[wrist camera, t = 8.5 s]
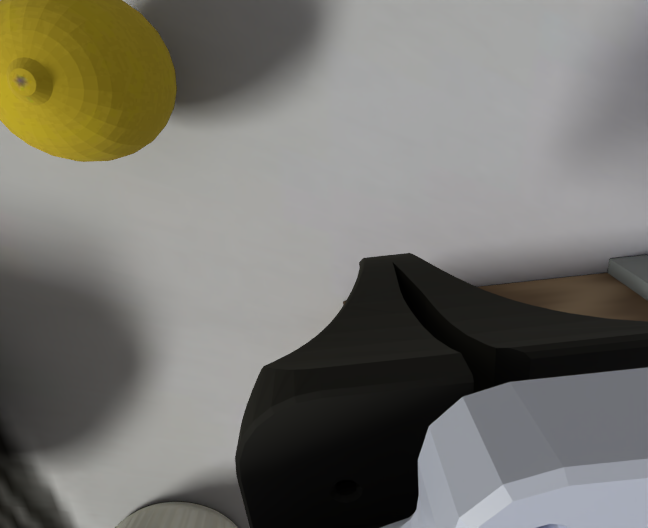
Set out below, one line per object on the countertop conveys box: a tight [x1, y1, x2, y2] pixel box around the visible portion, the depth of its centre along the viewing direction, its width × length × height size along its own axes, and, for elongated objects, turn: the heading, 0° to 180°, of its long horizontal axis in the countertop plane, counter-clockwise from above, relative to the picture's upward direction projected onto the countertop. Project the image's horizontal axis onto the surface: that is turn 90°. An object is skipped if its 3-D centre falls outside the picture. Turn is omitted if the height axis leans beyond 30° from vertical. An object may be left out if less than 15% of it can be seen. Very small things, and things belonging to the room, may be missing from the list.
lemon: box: [0, 0, 177, 162], centre depth 15 cm, size 6×6×8 cm
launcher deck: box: [343, 273, 648, 321], centre depth 22 cm, size 14×8×6 cm, turn 96°
